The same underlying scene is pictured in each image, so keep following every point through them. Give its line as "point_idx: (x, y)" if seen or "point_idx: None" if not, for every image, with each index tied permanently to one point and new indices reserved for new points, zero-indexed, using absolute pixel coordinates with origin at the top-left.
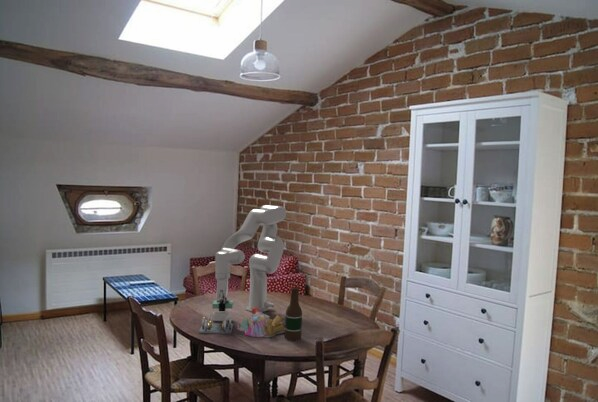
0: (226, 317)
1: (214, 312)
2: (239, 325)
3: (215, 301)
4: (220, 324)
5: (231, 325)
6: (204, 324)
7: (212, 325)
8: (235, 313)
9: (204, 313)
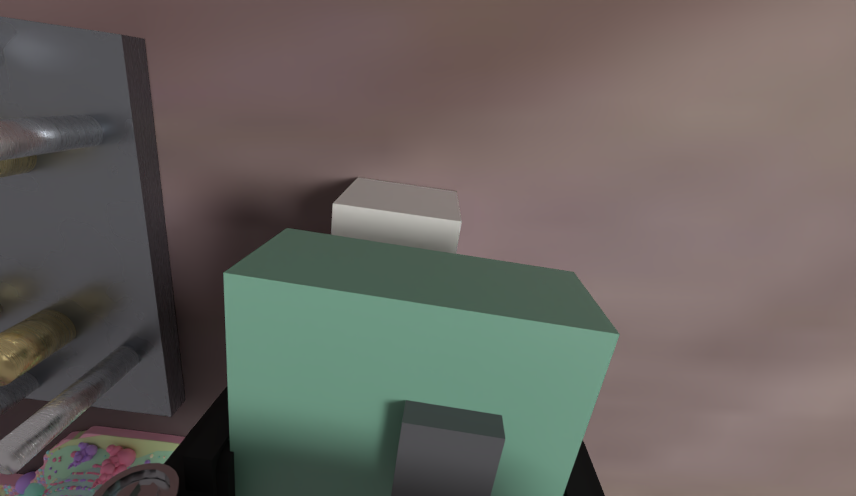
0: (30, 417)
1: (412, 233)
2: (116, 466)
3: (487, 367)
4: (116, 285)
5: (111, 396)
6: (52, 58)
7: (43, 184)
8: (632, 439)
9: (752, 37)
